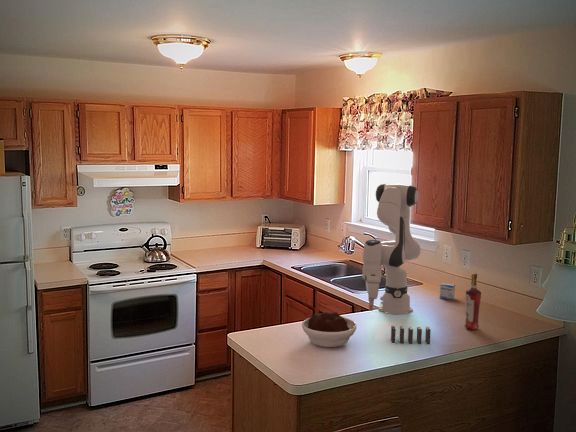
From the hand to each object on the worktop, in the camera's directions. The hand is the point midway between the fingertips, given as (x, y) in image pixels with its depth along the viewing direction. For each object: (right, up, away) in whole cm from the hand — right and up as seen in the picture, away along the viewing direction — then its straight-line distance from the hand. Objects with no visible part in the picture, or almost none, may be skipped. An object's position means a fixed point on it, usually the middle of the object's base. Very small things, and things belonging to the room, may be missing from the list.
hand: (370, 303), depth 280 cm
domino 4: (+18, -18, -5) cm, 25 cm away
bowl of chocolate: (-20, -18, -7) cm, 28 cm away
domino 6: (+26, -18, -5) cm, 32 cm away
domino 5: (+22, -18, -5) cm, 28 cm away
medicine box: (+55, -8, +70) cm, 90 cm away
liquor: (+53, -15, +16) cm, 57 cm away
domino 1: (0, -3, 0) cm, 3 cm away
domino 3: (+14, -18, -4) cm, 23 cm away
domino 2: (+10, -18, -4) cm, 20 cm away
